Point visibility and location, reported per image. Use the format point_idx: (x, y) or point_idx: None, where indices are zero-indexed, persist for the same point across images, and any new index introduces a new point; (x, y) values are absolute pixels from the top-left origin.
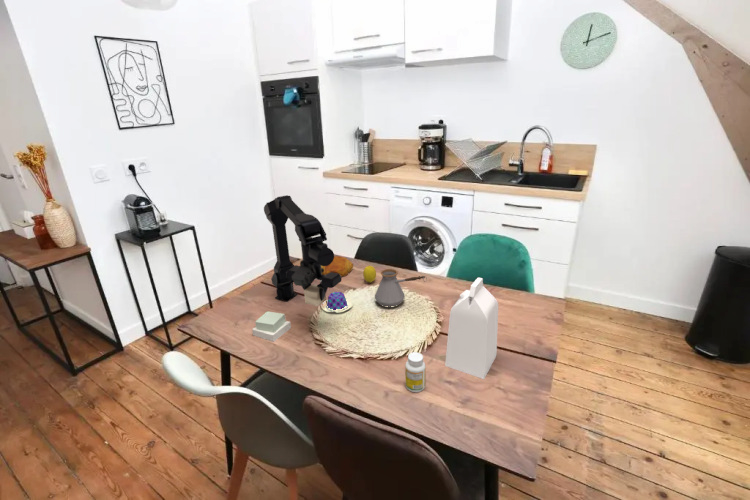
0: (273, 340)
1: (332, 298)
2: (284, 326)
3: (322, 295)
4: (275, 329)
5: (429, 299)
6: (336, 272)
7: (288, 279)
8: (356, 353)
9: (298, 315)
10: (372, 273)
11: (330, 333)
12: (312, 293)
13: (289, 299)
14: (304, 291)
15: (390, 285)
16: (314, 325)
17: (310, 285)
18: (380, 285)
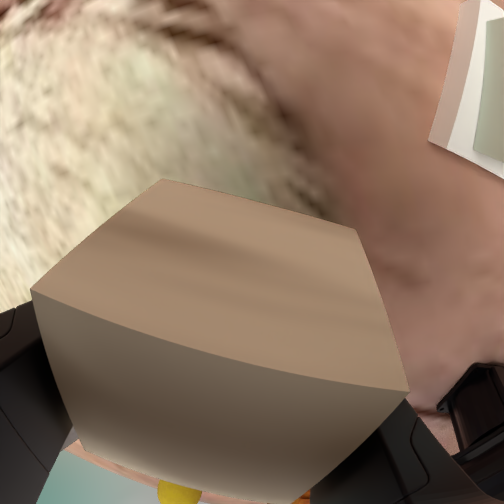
0: (464, 2)
1: None
2: (462, 92)
3: None
4: (493, 31)
5: None
6: (303, 498)
7: (491, 460)
8: (12, 30)
9: (417, 273)
10: (160, 489)
11: (157, 119)
12: (151, 303)
13: (467, 375)
14: (395, 364)
15: None
16: (290, 182)
17: (316, 489)
18: None
